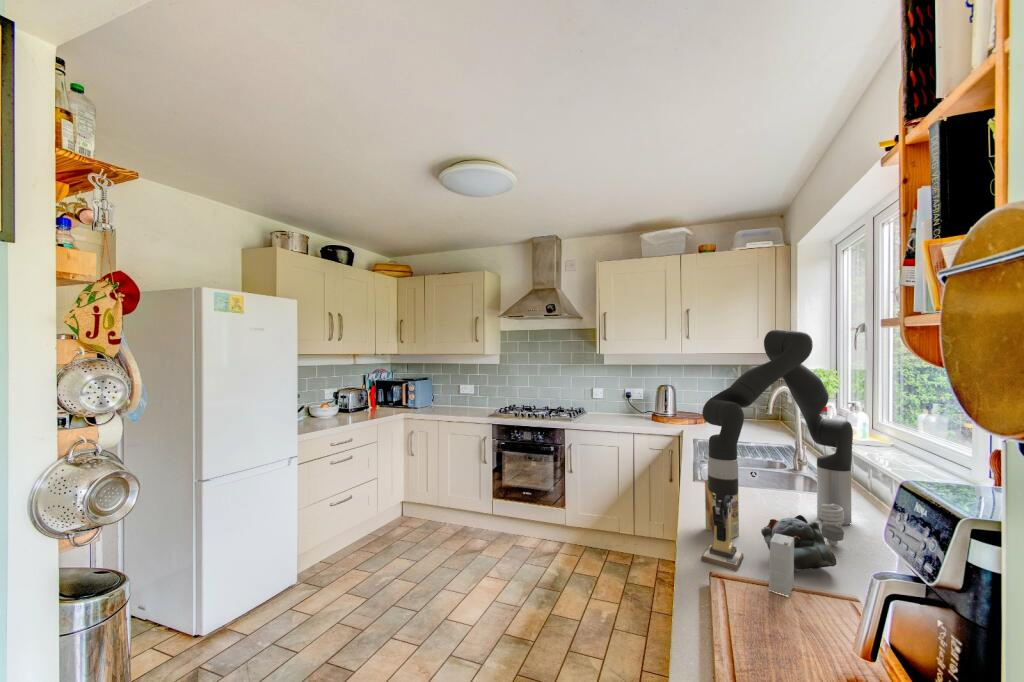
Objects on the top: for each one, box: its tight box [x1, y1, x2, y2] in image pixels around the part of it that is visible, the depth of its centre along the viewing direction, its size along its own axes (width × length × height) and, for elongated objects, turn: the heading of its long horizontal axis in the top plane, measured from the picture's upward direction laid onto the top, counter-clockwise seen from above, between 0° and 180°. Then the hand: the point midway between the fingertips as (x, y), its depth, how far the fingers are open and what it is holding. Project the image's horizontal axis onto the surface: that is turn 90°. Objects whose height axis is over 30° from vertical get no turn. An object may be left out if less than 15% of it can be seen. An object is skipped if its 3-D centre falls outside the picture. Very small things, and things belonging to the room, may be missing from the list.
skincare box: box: [768, 533, 795, 597], centre depth 105 cm, size 6×4×12 cm
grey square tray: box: [700, 544, 745, 571], centre depth 120 cm, size 8×9×3 cm
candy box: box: [704, 479, 740, 539], centre depth 138 cm, size 9×4×15 cm, turn 33°
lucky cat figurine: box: [760, 514, 838, 572], centre depth 117 cm, size 15×12×14 cm
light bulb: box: [820, 504, 845, 547], centre depth 129 cm, size 6×6×12 cm
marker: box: [713, 512, 732, 548], centre depth 122 cm, size 4×4×10 cm
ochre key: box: [712, 542, 735, 554], centre depth 121 cm, size 4×4×2 cm
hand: (723, 537), depth 121 cm, fingers closed on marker, 3 cm apart
